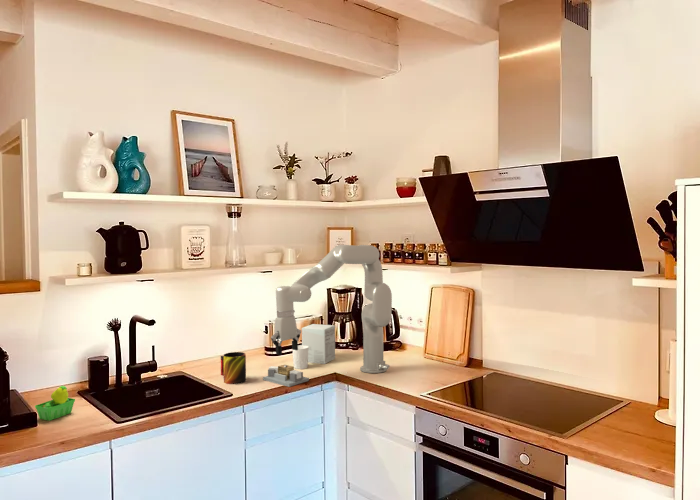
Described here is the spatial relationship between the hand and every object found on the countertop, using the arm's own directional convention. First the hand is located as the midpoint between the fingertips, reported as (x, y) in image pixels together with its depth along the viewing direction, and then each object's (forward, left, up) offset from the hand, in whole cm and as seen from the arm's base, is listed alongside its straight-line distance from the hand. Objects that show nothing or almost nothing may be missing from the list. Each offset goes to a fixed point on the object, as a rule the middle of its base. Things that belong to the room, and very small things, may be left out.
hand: (287, 352), depth 237 cm
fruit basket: (+31, +85, -13) cm, 91 cm away
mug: (+19, +17, -13) cm, 28 cm away
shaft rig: (0, +1, -13) cm, 13 cm away
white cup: (+11, -19, -13) cm, 26 cm away
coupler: (0, +1, -11) cm, 11 cm away
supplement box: (+14, -35, -13) cm, 40 cm away
